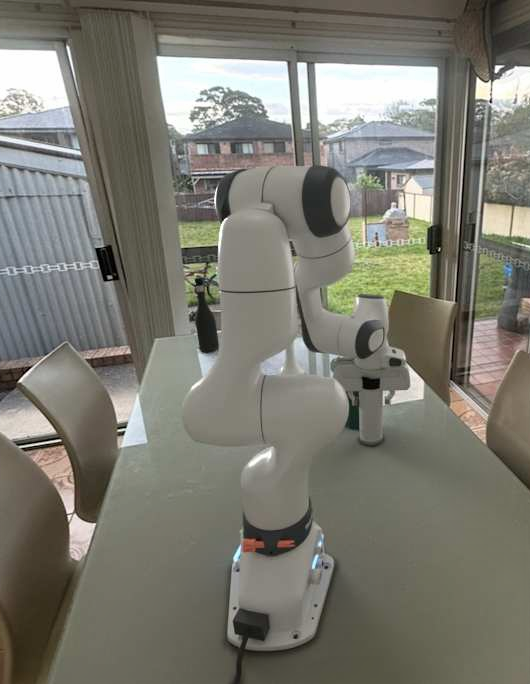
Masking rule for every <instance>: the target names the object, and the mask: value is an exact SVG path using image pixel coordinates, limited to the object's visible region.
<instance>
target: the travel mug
mask: <svg viewBox="0 0 530 684" xmlns="http://www.w3.org/2000/svg"><path fill="white" fill-rule="evenodd" d="M361 378H362V385H363V386H362V390H363V391H359V423H360V429H359V441H360V442H361V443H362V444H364V445H367V446H375V445H378V444H380V443H381V442H383V435H384V434H383V430H384V429H383V428H384V427H383V422H384V421H383V420H384V419H383V417H384V415H383V414H384V412H383V410H384V391H380V386H379V385H380V378H378V379H369V378H368V377H364V376H363V377H361Z"/></svg>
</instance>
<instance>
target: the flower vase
mask: <svg viewBox="0 0 530 684" xmlns="http://www.w3.org/2000/svg"><path fill="white" fill-rule="evenodd" d="M297 320H298V333H297V334H299V335H300V336H301V337H302V333H301V319H300V315H299V313H297ZM284 356H285V357H284V362H283V364H282V365H281V366H280V368H279V369H278V370H277V375H284V374H306V370H305V368H304V367H303V366H302V364H300V363H299V362H298V361H297V358H296V354H295V344H294V342H293V343H292V344H291V345H290V346H289V347H288V348H286V349H285V350H284Z"/></svg>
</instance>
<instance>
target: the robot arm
mask: <svg viewBox="0 0 530 684" xmlns="http://www.w3.org/2000/svg"><path fill="white" fill-rule="evenodd" d="M350 192H351V191H350V188H349V185H348V182H347V180H346V178H345V177H344V176H343V175H342V174H341V173H340V172H339V171H338V169H336V168H334V167H332V166H327V165H321V164H313V165H311V166H306V165H304V166H303V165H279V164H276V165H275V164H273V165H266V166H261V167H255V168H250V169H243V168H241V169H237V170H234V171H232V172H229V173H227V174H225V175H224V176H222V177H221V179H220V180H219V181H218V184H217V186H216V189H215V193H214V210H215V213H216V216H217V218H218V219H217V220H218V221H219V224H220V229H219V234H218V245H217V246H218V248H217V283H218V294H219V305H220V327H221V328H220V329H221V330H220V343H219V349H218V353H217V356H216V358H215V360H214V362H213V364H212V366H211V367H210V369H209V370H208V371H207V372H206V373H205V374H204V376H202V378H201V379H199V380H198V381H197V382H195V383H194V384H193V385H192V386H191V387H190V389H189V390H188V391H187V392H186V394H185V397H184V399H183V402H182V405H181V421H182V425H183V428H184V430H185V432H186V433H187V435H188V436H189V438H190V439H191V440H192V441H193V442H194V443H199V444H205V445H210V446H215V447H216V446H217V447H224V448H227V447H249V446H250V447H251V446H252V447H253V446H254V447H255V446H268V447H267V448H265V449H263V450H261V451H259V452H258V453H256V454H255V455H254V456H253V457H252V458H250V460H249V461H248V462H247V463H246V464H245V466H244V467H243V469H242V472H241V474H240V481H239V482H240V490H241V496H242V503H243V508H242V518H241V529H240V530H239V535H240V536H239V537H240V545H239V547H238V548H237V550H236V552H235V554H234V556H233V562H232V564H231V573H230V574H231V575H230V589H229V603H228V618H227V634H226V635H227V641H228V642H229V643H231V644H232V645H233V646H235V647H238V648H239V649H238V653H237V657H236V660H235V661H236V662H235V676H234V678H233V681H232V684H239V683H240V681H241V677H242V671H243V668H242V667H243V666H242V664H243V657H244V653H245V650H247V651H255V652H274V651H275V652H276V651H284V650H289V649H293V648H296V647H300V646H302V645H304V644H306V643H308V642H309V641H311V640H313V638H314V637H315V635H316V633H317V630H318V626H319V623H320V619H321V616H322V611H323V608H324V605H325V602H326V597H327V594H328V590H329V587H330V583H331V580H332V575H333V573H334V568H335V560H334V558H333V557H332V556H330V555H329V554H327V553H325V547H324V546H325V545H324V534H323V529H322V527H320V526H319V524H318V523H317V522H316V521H315V520H314V516H313V515H314V514H313V513H314V508H313V503H312V499H311V498H310V497H311V496H309V478H310V477H309V474H310V468H311V465H312V462H313V460H314V459H315V457H316V456H317V454H318V453H319V452H320V451H321V450H322V448H323V447H324V446H326V444H328V443H329V442H330V441H332V440H334V439H335V438H337V437H338V436H339V435H340V433H341V432H342V431H343V429H344V428H345V426H346V425H345V424H346V422H347V419H348V414H349V402H348V397H347V394H346V391H348V396H349V397H350V399H351V400H352V405H358V397H354V395H353V391H363V390H362V386H363V385H362V378H361V377H363V376H364V377H368V378H369V379H378V378H380V385H379V386H380V391H383V392H385V391H386V392H387V391H388V392H389V393H388V394H387V395H385V396H384V405H385V406H388V405H389V406H390V405H391V402H392V399H393V397H395V396H394V395H395V394H396V391H407V390H409V389H410V388H411V376H410V370H409V367H408V364H407V357H406V353H405V352H404V350H403V349H400V348H397V347H393V346H390V344H389V340H388V333H389V329H390V321H389V319H390V318H389V308H388V302H387V299H386V298H385V297H384V296H382V295H379V294H371V293H360V294H358V295H355V297H354V302H353V303H354V304H353V312H352V313H350V315H346V314H340V313H334V312H331V311H329V310H327V309H325V308H324V306H323V302H322V296H321V291H320V289H321V288H325V287H326V288H327V287H329V286H332V285H334V284H337V283H339V282H340V281H341V280H342V279H344V278H345V277H346V276H347V275H349V273H350V272H351V270H352V268H353V266H354V264H355V260H356V248H355V244H354V241H353V236H352V233H351V228H350V226H349V223H348V222H349V219H350V217H351V216H350V215H351V207H352V202H351V193H350ZM290 240H291V242H290ZM291 243H292V246H293V248H294V251H295V253H296V258H297V260H296V261H294V259H293V258H294V257H293V253H292V248H291ZM298 314H299V315H300V319H301V333H302V336H301V339H302V341H303V343H304V346H305V347H306V348H307V350H308V351H310V352H311V353H316V354H327V355H334V356H336V357H334V358H333V359H331V360H330V362H329V366H330V367H329V368H330V371H331V373H332V377H330V376H325V375H320V374H319V375H318V374H313V373H305V374H284V375H278V374H264V373H263V372H262V368H261V366H262V363H264V362H265V361H267V360H268V359H269V360H270V358H273V357H275V356H276V355H279V354H280V353H282V352H283V351H285V349H286V348H288V347H289V346H290V345H291V344H292V343H294V342H295V340H296V338H297V336H298V334H299V333H298V320H297V315H298Z"/></svg>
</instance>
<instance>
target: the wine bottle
mask: <svg viewBox="0 0 530 684" xmlns="http://www.w3.org/2000/svg"><path fill="white" fill-rule="evenodd" d="M194 283H195V288H196V296H197V308H196V311H195V316H194V329H195V335H196V342H197V347H198V350H199V351H200V352H203V353H209V352H214V351H217V349H218V348H220V342H219V336H218V329H217V321H216V318H215V316H214V314H213V312H212V311H211V309H210V307H209V305H208V303H207V301H206V295H205V287H204V278H203V276H202V277H200V276H199V277H195V278H194Z"/></svg>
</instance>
